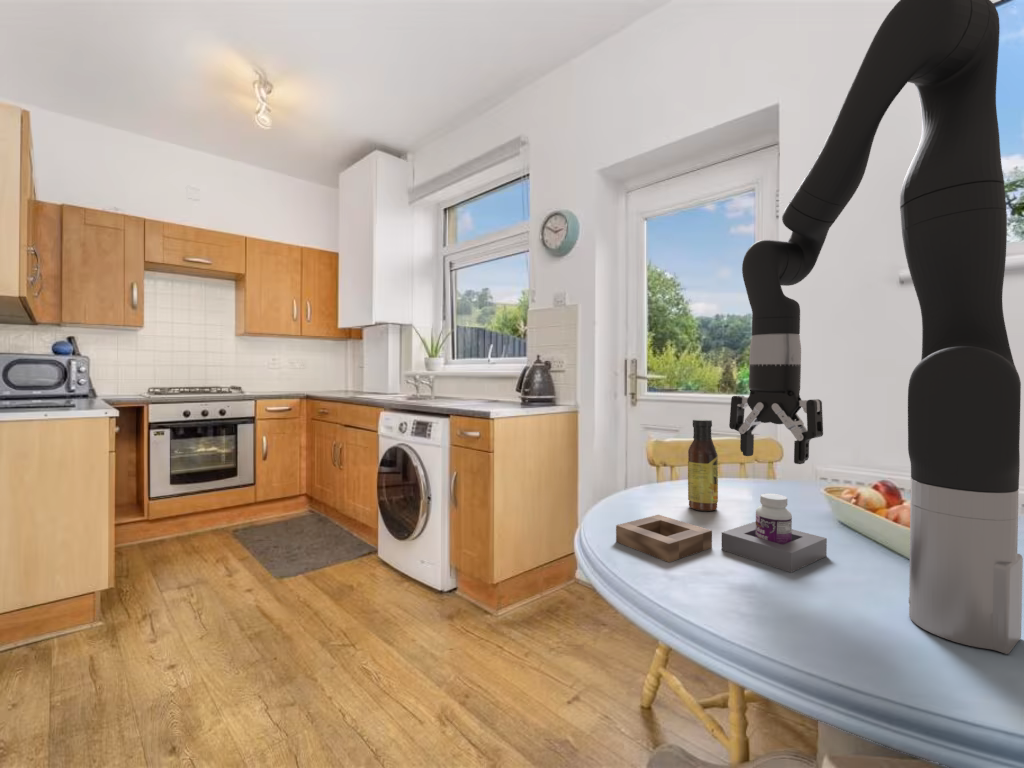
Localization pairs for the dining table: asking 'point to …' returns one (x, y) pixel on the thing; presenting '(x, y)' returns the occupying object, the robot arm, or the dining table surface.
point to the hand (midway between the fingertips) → (772, 459)
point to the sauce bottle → (702, 468)
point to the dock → (664, 537)
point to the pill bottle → (774, 519)
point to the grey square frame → (775, 548)
